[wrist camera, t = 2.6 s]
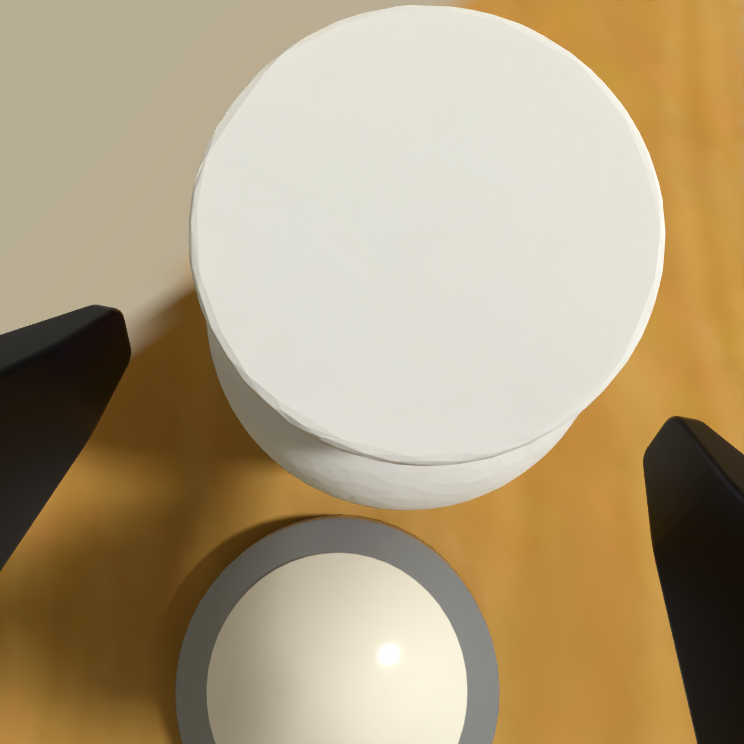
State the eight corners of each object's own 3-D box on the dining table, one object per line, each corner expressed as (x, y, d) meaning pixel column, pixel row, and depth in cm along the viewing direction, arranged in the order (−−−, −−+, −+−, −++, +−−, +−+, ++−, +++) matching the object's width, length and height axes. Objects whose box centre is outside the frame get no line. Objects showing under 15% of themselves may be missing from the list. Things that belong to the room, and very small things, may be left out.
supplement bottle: (257, 349, 18) (-52, 138, 5) (408, 243, 18) (487, -206, 5) (367, 506, 17) (342, 737, 4) (522, 393, 17) (924, 293, 5)
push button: (449, 879, 16) (455, 912, 15) (147, 785, 16) (130, 812, 15) (523, 560, 17) (533, 569, 16) (238, 480, 17) (229, 483, 16)
